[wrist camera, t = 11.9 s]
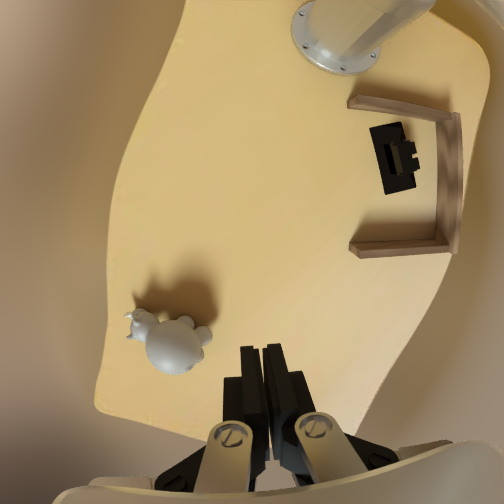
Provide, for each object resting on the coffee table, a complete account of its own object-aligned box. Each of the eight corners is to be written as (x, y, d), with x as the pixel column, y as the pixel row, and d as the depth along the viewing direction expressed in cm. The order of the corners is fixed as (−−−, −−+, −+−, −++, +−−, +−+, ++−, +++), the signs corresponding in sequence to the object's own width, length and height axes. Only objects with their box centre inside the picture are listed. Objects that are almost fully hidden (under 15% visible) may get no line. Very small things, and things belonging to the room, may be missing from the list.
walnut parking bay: (346, 101, 33) (361, 92, 28) (439, 116, 33) (460, 113, 28) (348, 250, 38) (363, 261, 33) (438, 244, 39) (457, 253, 34)
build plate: (418, 194, 37) (437, 198, 33) (378, 206, 37) (395, 211, 33) (400, 111, 34) (417, 107, 29) (357, 118, 34) (372, 113, 29)
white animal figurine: (154, 284, 41) (116, 295, 33) (222, 330, 38) (193, 354, 30) (140, 322, 42) (104, 338, 34) (202, 367, 40) (173, 394, 32)
